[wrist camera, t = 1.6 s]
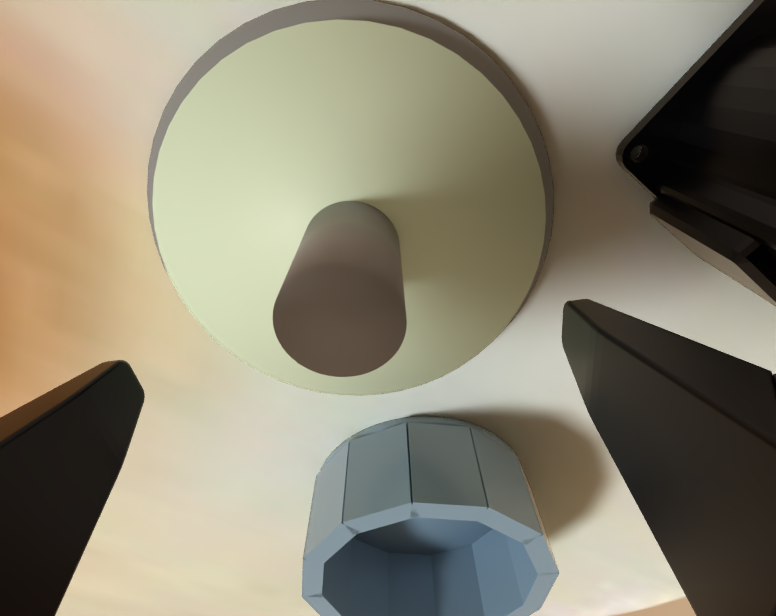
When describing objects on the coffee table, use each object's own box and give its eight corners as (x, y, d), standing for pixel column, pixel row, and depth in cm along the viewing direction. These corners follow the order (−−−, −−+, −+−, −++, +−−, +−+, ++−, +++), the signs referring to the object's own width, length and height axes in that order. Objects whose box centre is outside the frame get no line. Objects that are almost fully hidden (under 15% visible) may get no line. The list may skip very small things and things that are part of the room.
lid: (284, -101, 10) (206, -224, 6) (617, 199, 14) (733, 270, 9) (108, 275, 15) (-12, 372, 10) (391, 426, 19) (394, 546, 14)
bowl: (399, 377, 18) (404, 464, 14) (567, 474, 21) (608, 568, 17) (279, 506, 22) (256, 601, 18) (434, 572, 25) (443, 666, 21)
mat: (278, -136, 10) (276, -142, 10) (635, 193, 14) (640, 196, 14) (93, 274, 15) (88, 278, 15) (393, 432, 19) (393, 437, 19)
